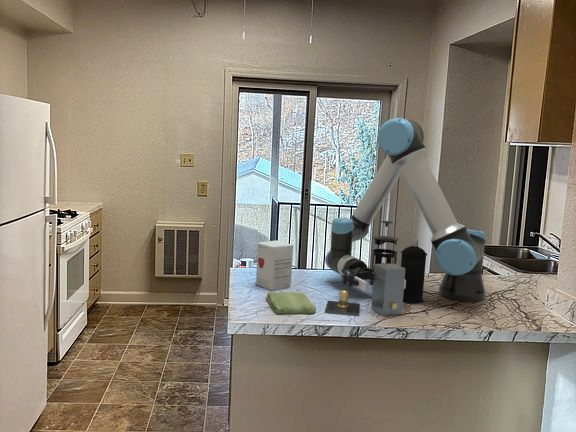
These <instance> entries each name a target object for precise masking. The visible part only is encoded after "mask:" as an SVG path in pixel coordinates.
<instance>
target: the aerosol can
mask: <svg viewBox="0 0 576 432" xmlns="http://www.w3.org/2000/svg"><path fill="white" fill-rule="evenodd" d="M400 253H401V260H400V266H401V267H403V268H405V280H406V286H405V289H404V293H403V303H405V304H412V305H413V304H414V305H417V304H418V305H419V304H422V303H423V302H424V299H423V297H424V285H425V275H426V264H427V263H426V262H427V256H428V253H426V251H425V249H423V247H422V248H421V247H420V246H419V240H418V239H411V245H410V246H407V247H405V248H404V249H403V250H401V251H400Z"/></svg>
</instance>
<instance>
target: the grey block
mask: <svg viewBox="0 0 576 432" xmlns="http://www.w3.org/2000/svg"><path fill="white" fill-rule="evenodd" d="M374 264H375V263H374ZM373 269H374V279H373V285H372V294H371V295H372V296H371V308H370V309H371V310H372V311H373V312H375V313H377V314H379V315H380V316H382V317H385V316H397V315H398V316H399V315H402V314H403V303H404V302H403V293H404V280H405V268H403V267H401V265H398V264H397V263H396V264H394V262H393V263H391V264H386V263H385V264H383V263H381V264H375V266H374V268H373Z"/></svg>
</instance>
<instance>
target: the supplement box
mask: <svg viewBox="0 0 576 432" xmlns="http://www.w3.org/2000/svg"><path fill="white" fill-rule="evenodd" d="M256 253H257V255H256V271H255V272H256V274H255V275H256V276H255V285H256V286H259V287H260V288H261V287H262V288H264V289H267V290H270V291H272V292H274V291H277V290H283V289H287V288H291V287H292V271H293V258H294V244H292V243H288V242H283V241H280V240H269V241H260V242H257V252H256Z"/></svg>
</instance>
